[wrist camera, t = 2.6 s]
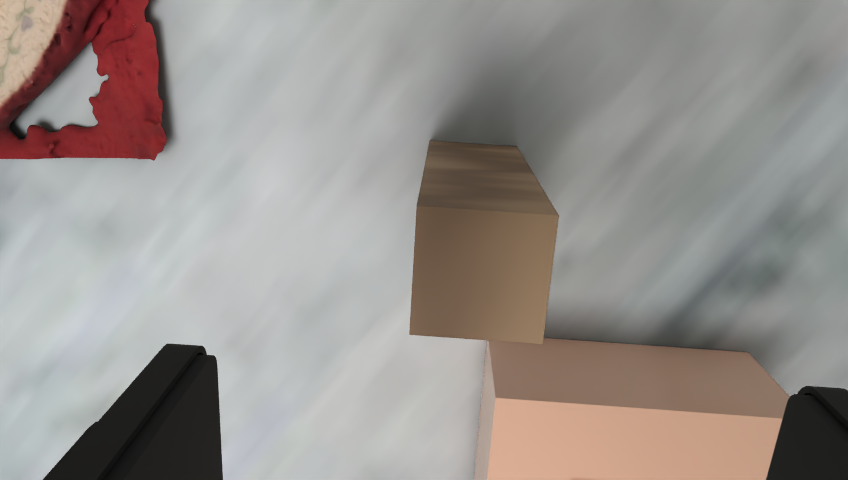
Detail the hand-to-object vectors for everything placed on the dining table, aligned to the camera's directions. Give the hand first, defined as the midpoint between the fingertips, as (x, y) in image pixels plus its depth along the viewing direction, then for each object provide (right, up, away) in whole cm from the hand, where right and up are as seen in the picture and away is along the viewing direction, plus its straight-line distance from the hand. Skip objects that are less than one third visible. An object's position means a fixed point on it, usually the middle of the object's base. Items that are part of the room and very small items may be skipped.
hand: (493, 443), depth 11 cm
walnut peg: (+1, +6, +20) cm, 21 cm away
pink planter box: (+8, -8, +24) cm, 26 cm away
